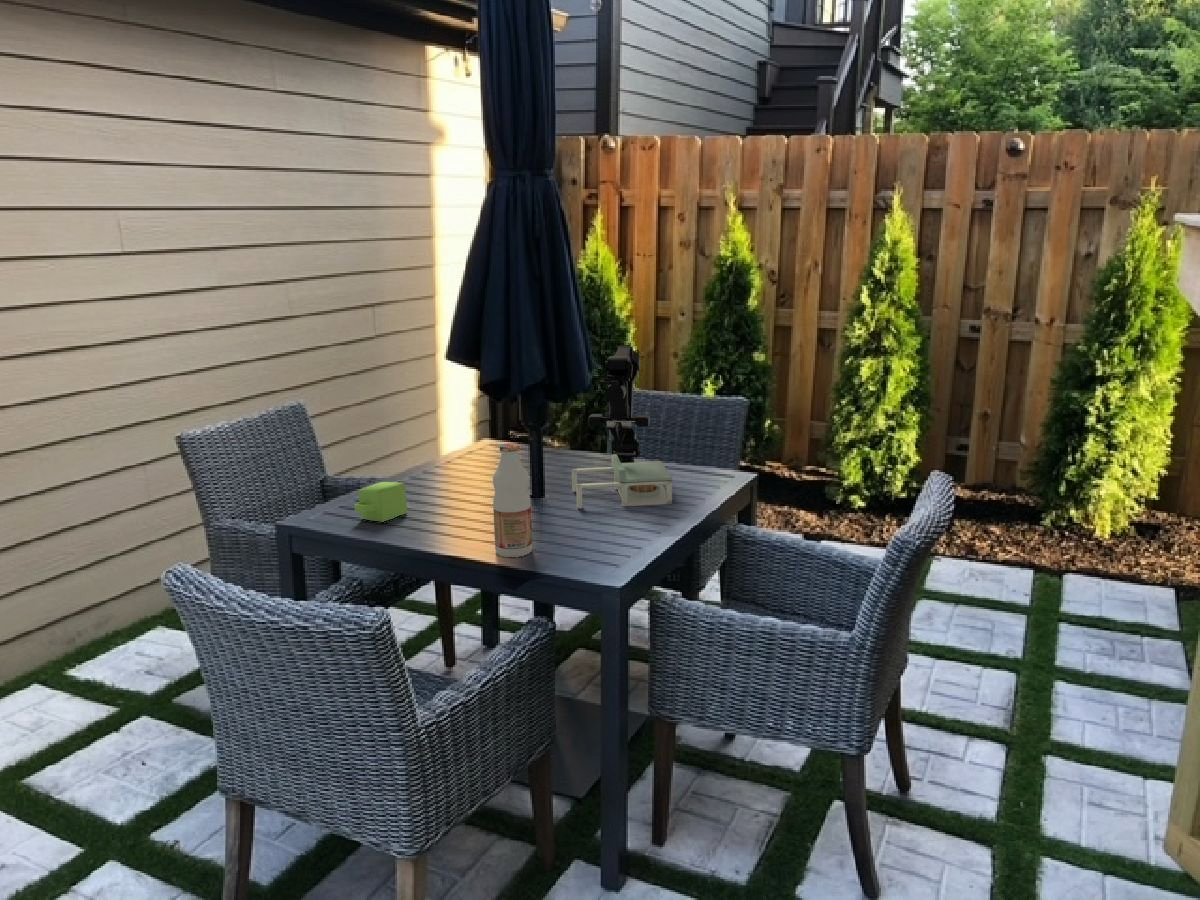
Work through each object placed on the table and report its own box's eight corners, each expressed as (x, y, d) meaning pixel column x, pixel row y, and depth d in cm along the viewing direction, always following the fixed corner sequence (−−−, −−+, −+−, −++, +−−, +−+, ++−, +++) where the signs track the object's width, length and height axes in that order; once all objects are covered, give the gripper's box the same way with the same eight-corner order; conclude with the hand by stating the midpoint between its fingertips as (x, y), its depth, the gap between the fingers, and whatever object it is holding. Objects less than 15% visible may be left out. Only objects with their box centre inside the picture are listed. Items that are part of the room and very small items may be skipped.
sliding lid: (611, 466, 295) (611, 454, 294) (661, 463, 297) (661, 452, 296) (619, 482, 277) (618, 470, 276) (672, 480, 279) (672, 467, 278)
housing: (572, 490, 296) (571, 468, 294) (661, 486, 299) (661, 464, 297) (577, 508, 278) (576, 485, 276) (671, 503, 280) (671, 481, 279)
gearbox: (391, 507, 284) (388, 476, 282) (417, 510, 280) (414, 478, 278) (349, 523, 269) (346, 490, 267) (376, 526, 264) (373, 493, 262)
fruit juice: (487, 553, 242) (482, 446, 235) (514, 543, 249) (509, 439, 242) (513, 561, 236) (509, 451, 229) (540, 550, 243) (536, 444, 236)
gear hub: (632, 490, 291) (631, 474, 290) (652, 489, 292) (652, 473, 291) (634, 496, 285) (634, 480, 284) (655, 495, 286) (655, 479, 285)
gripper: (651, 393, 297) (651, 442, 301) (592, 393, 300) (593, 441, 304) (648, 400, 287) (648, 450, 290) (586, 399, 289) (587, 449, 293)
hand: (619, 447), depth 295 cm, fingers closed
